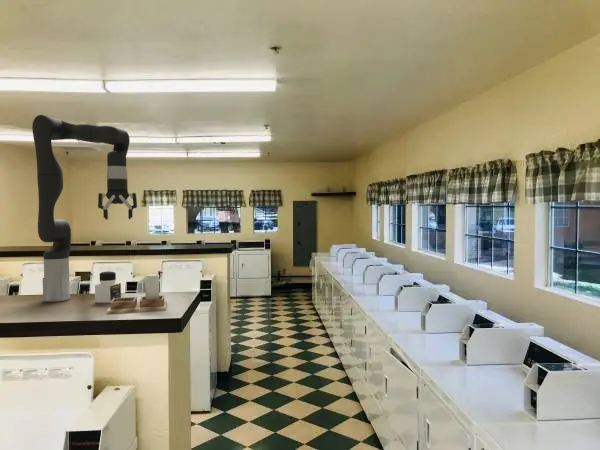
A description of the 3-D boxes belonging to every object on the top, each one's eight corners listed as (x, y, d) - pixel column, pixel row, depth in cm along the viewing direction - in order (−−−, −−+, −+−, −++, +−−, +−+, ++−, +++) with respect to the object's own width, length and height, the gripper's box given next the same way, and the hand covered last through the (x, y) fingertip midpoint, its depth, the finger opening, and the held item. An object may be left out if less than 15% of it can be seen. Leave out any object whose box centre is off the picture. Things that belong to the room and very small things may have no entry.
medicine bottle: (110, 303, 181) (110, 273, 180) (94, 302, 182) (94, 272, 182) (121, 299, 188) (120, 270, 187) (105, 299, 189) (105, 270, 189)
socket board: (106, 313, 162) (106, 304, 161) (112, 306, 175) (112, 297, 175) (165, 310, 167) (165, 300, 167) (166, 302, 180) (166, 293, 180)
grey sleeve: (144, 306, 169) (144, 276, 168) (144, 303, 174) (144, 274, 173) (159, 305, 170) (159, 276, 170) (159, 302, 175) (159, 274, 175)
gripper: (137, 179, 186) (138, 218, 187) (99, 178, 183) (100, 219, 183) (135, 177, 179) (136, 219, 180) (96, 177, 175) (97, 219, 176)
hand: (118, 219), depth 181 cm, fingers open, 8 cm apart
